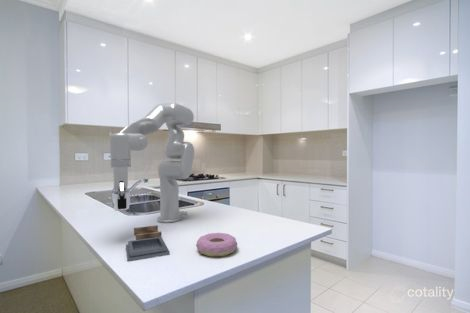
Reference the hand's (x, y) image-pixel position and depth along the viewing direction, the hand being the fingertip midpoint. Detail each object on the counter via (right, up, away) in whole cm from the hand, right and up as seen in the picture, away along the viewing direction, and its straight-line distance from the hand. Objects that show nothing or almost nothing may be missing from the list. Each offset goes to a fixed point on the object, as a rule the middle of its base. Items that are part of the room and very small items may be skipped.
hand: (121, 206), depth 108 cm
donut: (+40, -15, -10) cm, 44 cm away
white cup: (0, -1, 0) cm, 1 cm away
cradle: (+14, -14, -11) cm, 23 cm away
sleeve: (+9, -14, +4) cm, 17 cm away
